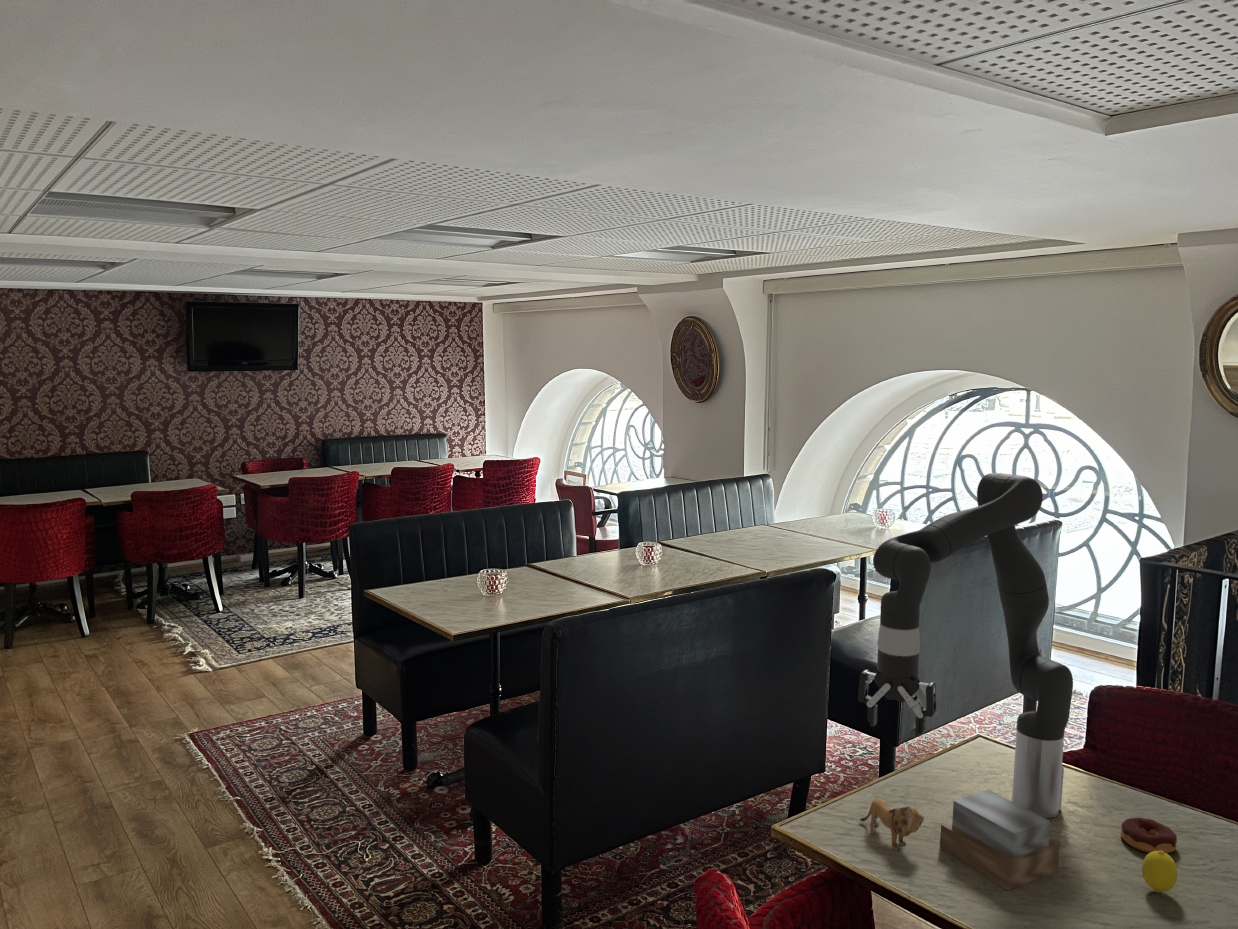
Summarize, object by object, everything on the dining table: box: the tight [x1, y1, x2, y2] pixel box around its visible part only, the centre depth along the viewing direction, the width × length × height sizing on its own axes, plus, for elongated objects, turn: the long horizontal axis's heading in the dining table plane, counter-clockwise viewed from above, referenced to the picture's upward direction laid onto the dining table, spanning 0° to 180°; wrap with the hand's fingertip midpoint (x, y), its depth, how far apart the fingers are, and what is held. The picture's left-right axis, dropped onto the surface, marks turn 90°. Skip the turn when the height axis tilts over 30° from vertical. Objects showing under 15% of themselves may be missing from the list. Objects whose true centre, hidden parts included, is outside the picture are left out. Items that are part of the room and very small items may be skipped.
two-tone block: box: [939, 789, 1061, 891], centre depth 175 cm, size 14×16×10 cm
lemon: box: [1141, 850, 1178, 894], centre depth 165 cm, size 6×6×8 cm
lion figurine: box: [859, 798, 925, 851], centre depth 183 cm, size 15×5×9 cm, turn 34°
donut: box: [1119, 817, 1178, 854], centre depth 182 cm, size 10×10×4 cm
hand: (895, 729), depth 173 cm, fingers open, 8 cm apart
